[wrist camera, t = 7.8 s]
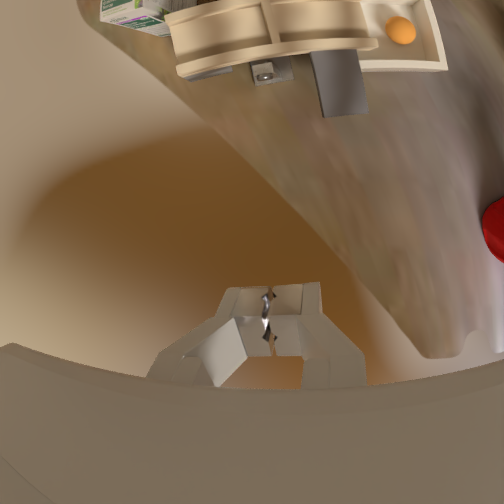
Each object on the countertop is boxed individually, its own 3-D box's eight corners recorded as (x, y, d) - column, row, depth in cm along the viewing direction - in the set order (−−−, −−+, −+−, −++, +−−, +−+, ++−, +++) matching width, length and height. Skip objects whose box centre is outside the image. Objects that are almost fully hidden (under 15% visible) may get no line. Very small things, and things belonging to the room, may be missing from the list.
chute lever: (205, 137, 32) (195, 144, 26) (179, 33, 26) (163, 15, 19) (363, 110, 31) (391, 112, 24) (340, 9, 24) (362, -10, 18)
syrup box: (160, 38, 31) (97, 24, 19) (161, 5, 28) (101, -19, 16) (197, 32, 30) (142, 9, 18) (198, -2, 27) (146, -36, 15)
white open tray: (316, 1, 25) (317, -11, 21) (415, 1, 22) (427, -9, 17) (335, 73, 30) (339, 70, 26) (433, 72, 27) (448, 70, 22)
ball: (379, 13, 22) (410, 12, 20) (384, 21, 25) (412, 19, 22) (387, 42, 24) (418, 41, 22) (391, 47, 27) (419, 46, 24)
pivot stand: (238, 13, 28) (216, -9, 20) (275, 5, 27) (263, -21, 18) (257, 87, 33) (239, 84, 25) (294, 81, 32) (289, 74, 24)
